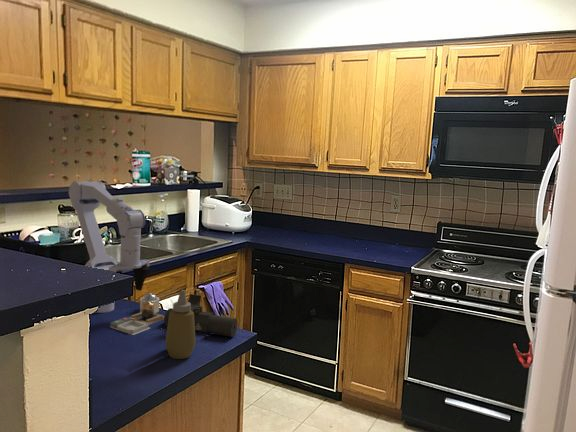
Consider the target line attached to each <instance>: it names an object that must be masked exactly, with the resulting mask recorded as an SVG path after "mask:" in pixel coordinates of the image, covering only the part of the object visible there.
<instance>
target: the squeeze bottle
mask: <svg viewBox="0 0 576 432" xmlns="http://www.w3.org/2000/svg"><path fill="white" fill-rule="evenodd" d="M172 305H173V306H172V309H173V310H172V311H171V312H170V313H169V319H168V326H166V332H165V333H166V334H165V335H166V336H165V341H164V343H165V347H166V351H167V353H168V354H167V355H168V357H170V358H171V359H175V360H184V359H188V358H189V357H191V356H192V353H193V350H194V347H195V346H196V343H197V342H196V331H195V322H194V312H193V311H191V303H189V302H188V301H187V294H186V290H185V289H181V290H180V291H179V295H178V299H177V301H175V302H173V304H172Z"/></svg>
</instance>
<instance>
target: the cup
mask: <svg viewBox="0 0 576 432" xmlns="http://www.w3.org/2000/svg"><path fill="white" fill-rule="evenodd" d="M139 301H140V302H139V303H140V305H139V313H140V312H142V303H143V302H146V301H145V300H144V296H143V297H140V300H139ZM151 302H154V313H156V314H157V313H159V312H160V297H158V296H156V299H155V300H154V301H151Z"/></svg>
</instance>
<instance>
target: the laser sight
mask: <svg viewBox="0 0 576 432" xmlns="http://www.w3.org/2000/svg"><path fill="white" fill-rule="evenodd" d="M201 301H202V295H201V294H200V295H199V294H195V293H194V294H193V293H189V296H188V301H187V302H189V303H191V311H193V312H194V322H195V332H198V333H199V332H200V333H206V335H208V336H209V335H211V334H212V335H217V336H222V337H223V336H224V337H230V338H234V337H235V335H236V333H237V329H238V319H237V318H235V317H228V316H222V315H216V314H214V313H213V312H210V311H203V306H202V305H201ZM172 310H173V307H171V308H168V309H167V310H166V312H165V315H163V316H164V319H163V323H164V326H165V327H167V326H168V319H169V313H170V312H171V311H172Z"/></svg>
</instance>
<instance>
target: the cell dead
mask: <svg viewBox="0 0 576 432" xmlns="http://www.w3.org/2000/svg"><path fill="white" fill-rule="evenodd" d="M143 297H144V300H145V301H154V300H155V299H156V297H157V296H156V293H154V292H153V293H151V292H149V293H148V292H146V293H144V295H143Z"/></svg>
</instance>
